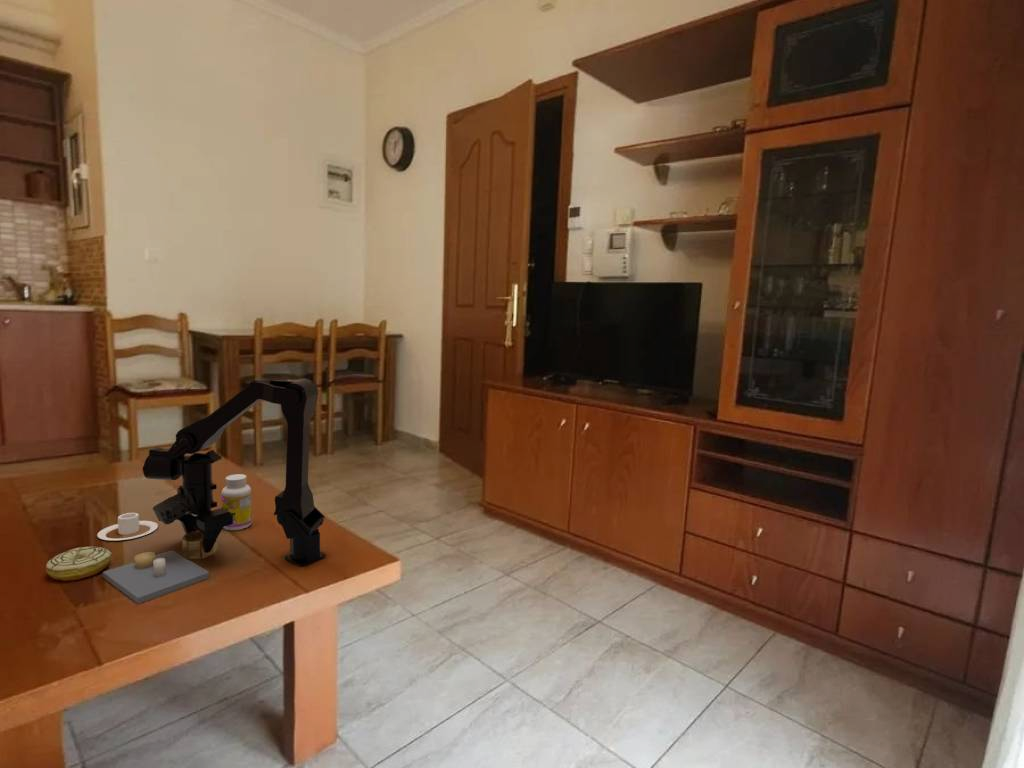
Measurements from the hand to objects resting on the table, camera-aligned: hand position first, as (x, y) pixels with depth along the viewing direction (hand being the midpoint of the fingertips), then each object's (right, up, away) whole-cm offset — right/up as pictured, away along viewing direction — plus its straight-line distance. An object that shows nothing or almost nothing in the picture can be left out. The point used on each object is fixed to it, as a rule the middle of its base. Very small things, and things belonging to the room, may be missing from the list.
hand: (200, 548), depth 124 cm
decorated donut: (-19, -2, -10) cm, 22 cm away
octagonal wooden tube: (0, -1, 0) cm, 1 cm away
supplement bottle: (+1, +1, +15) cm, 15 cm away
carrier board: (-2, -3, -12) cm, 12 cm away
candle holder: (-23, +1, +10) cm, 25 cm away
